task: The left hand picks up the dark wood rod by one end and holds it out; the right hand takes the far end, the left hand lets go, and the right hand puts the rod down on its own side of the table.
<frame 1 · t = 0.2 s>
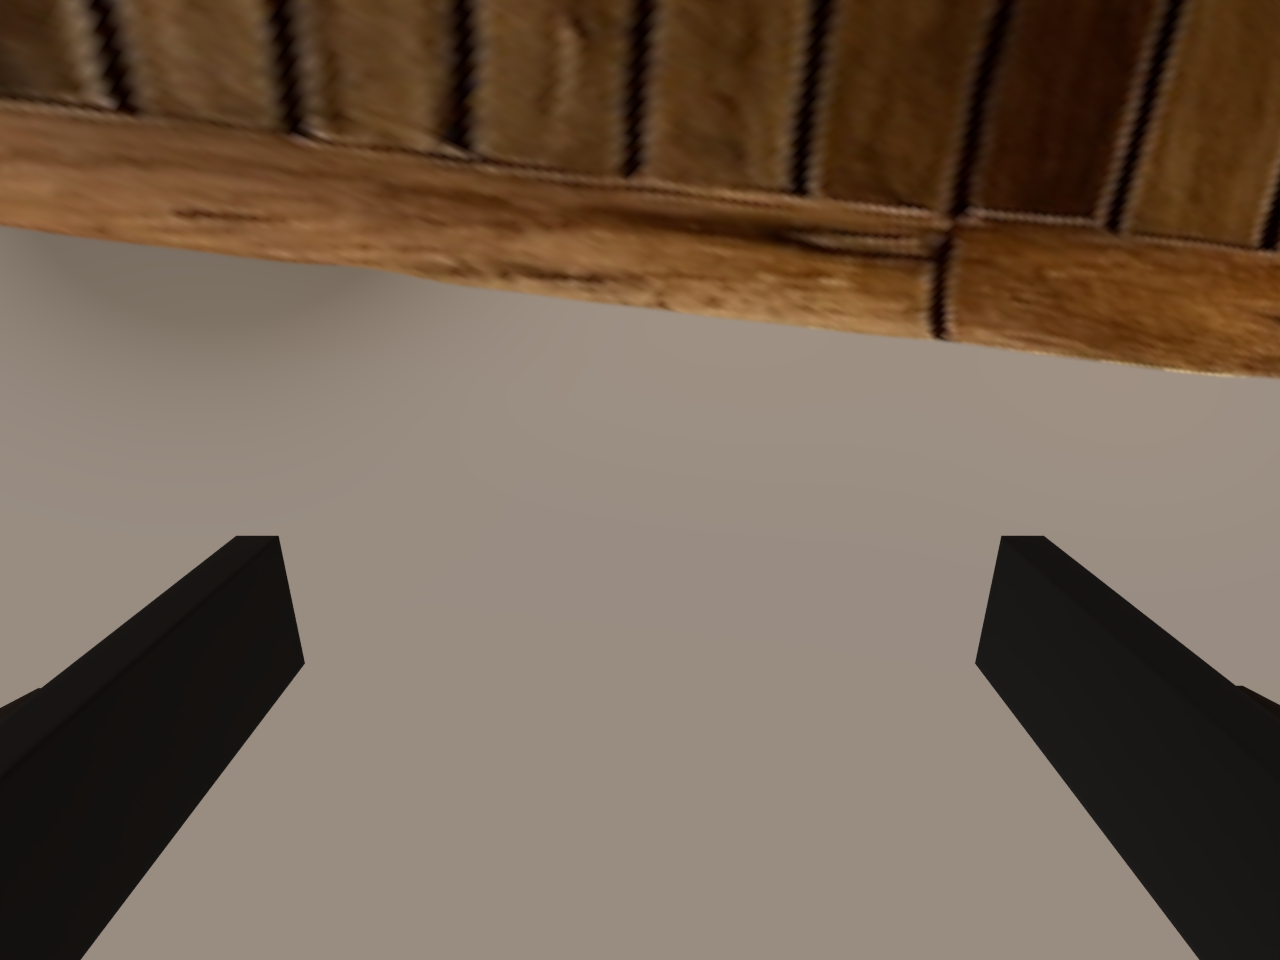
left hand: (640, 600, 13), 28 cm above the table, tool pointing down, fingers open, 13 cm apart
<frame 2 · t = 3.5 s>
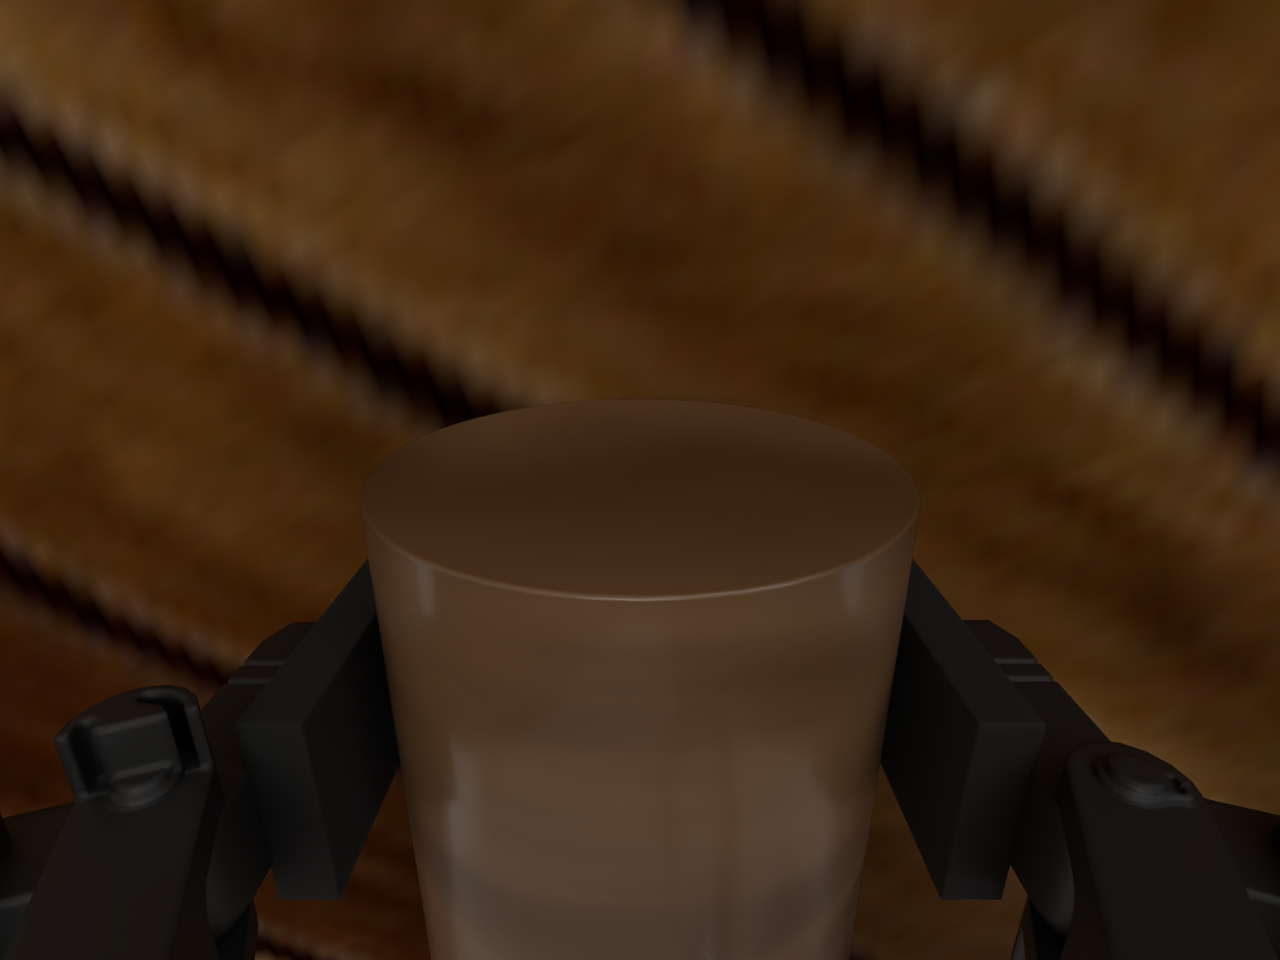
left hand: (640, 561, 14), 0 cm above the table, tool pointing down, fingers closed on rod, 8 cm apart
rod: (640, 846, 18), on the table, touching left hand
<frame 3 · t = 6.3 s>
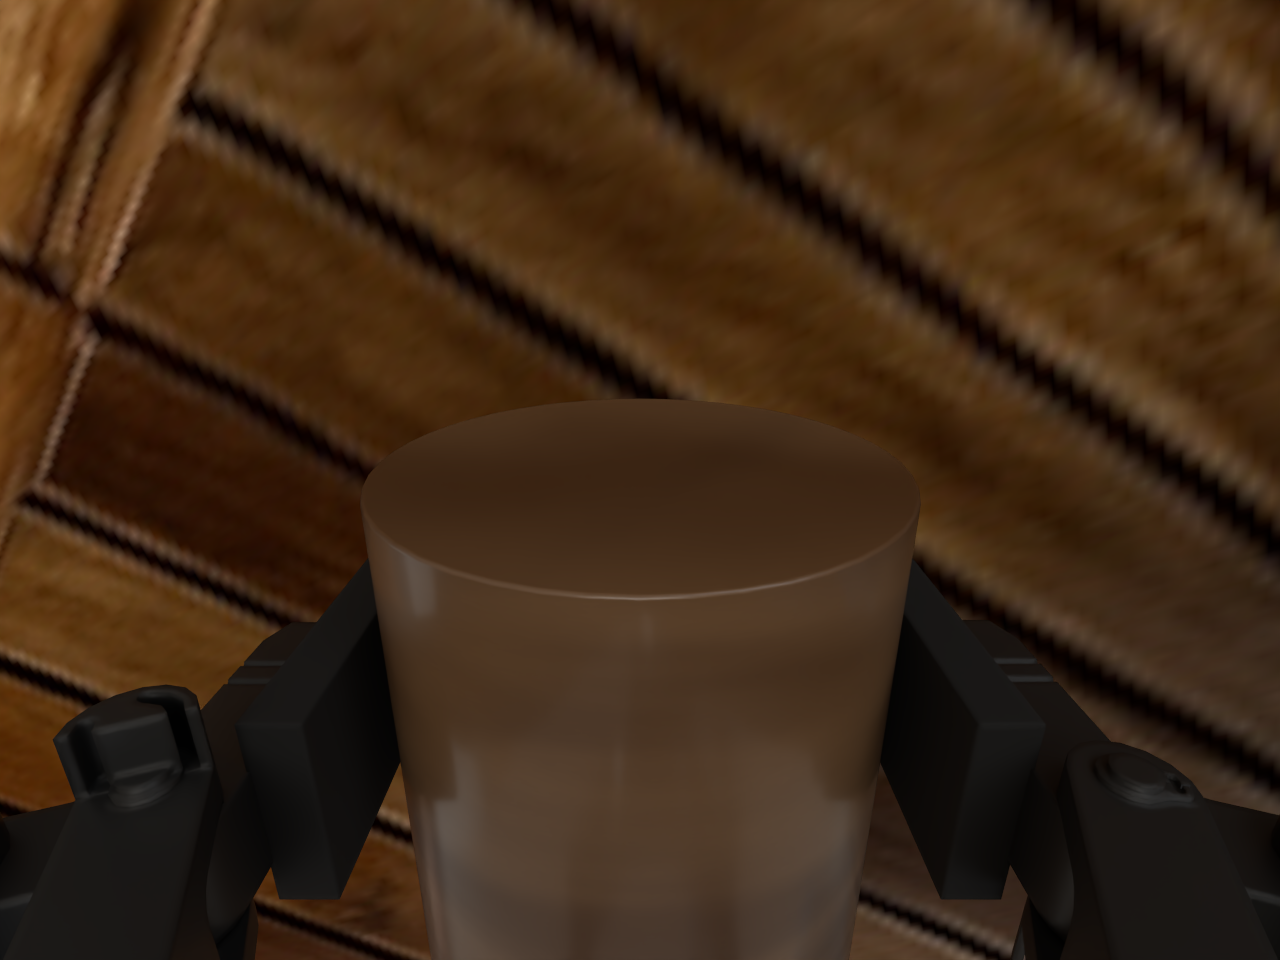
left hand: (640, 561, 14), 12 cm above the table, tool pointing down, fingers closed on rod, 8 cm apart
rod: (640, 846, 18), point 12 cm above the table, touching left hand
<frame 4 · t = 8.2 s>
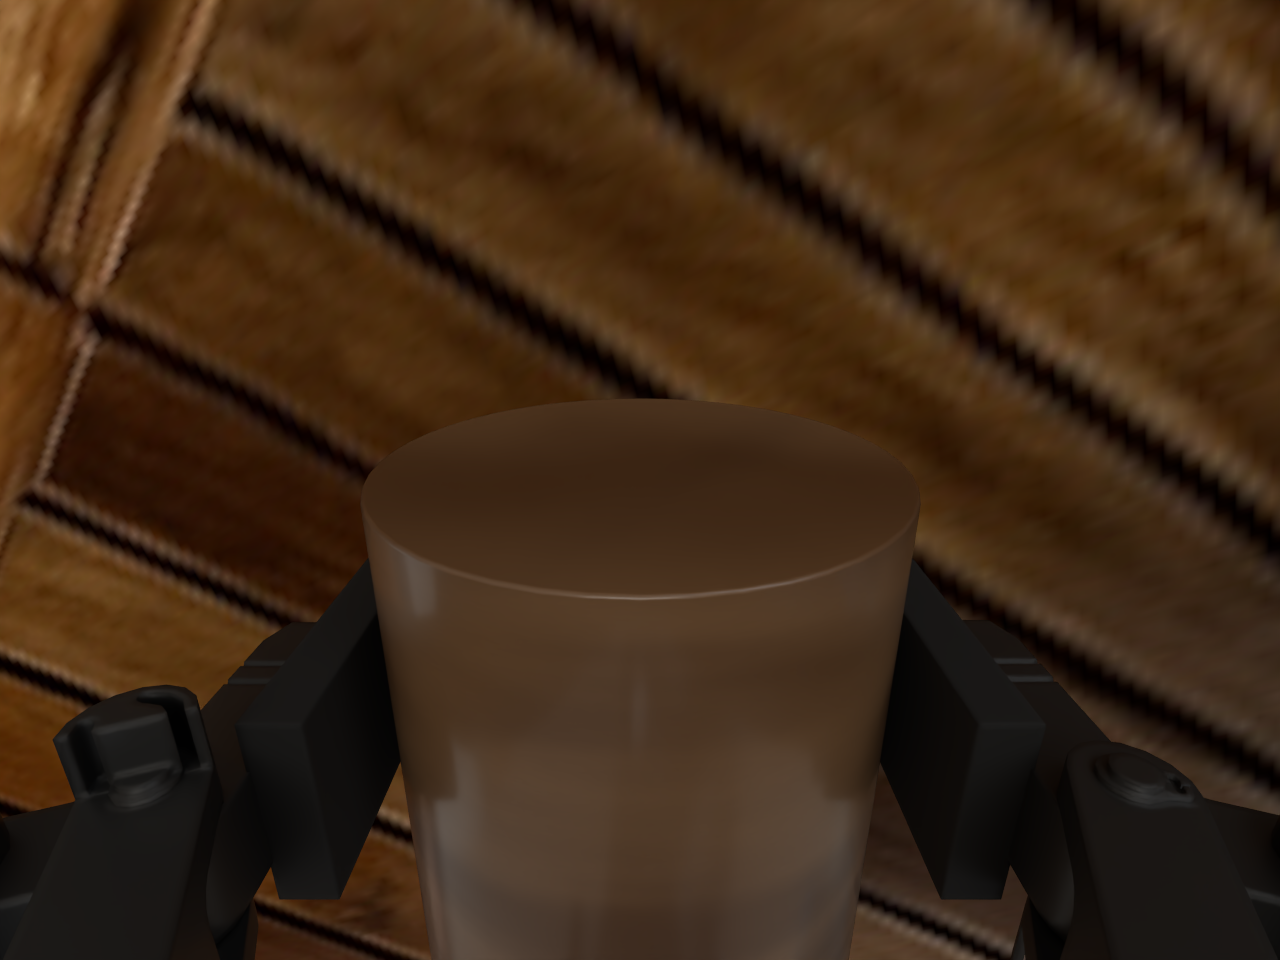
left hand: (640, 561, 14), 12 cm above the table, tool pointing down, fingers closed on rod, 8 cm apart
rod: (639, 845, 18), point 12 cm above the table, touching left hand, right hand
when the left hand's fingers open (12 cm above the table, at t = 9.1 s): rod stays where it is, held by the right hand.
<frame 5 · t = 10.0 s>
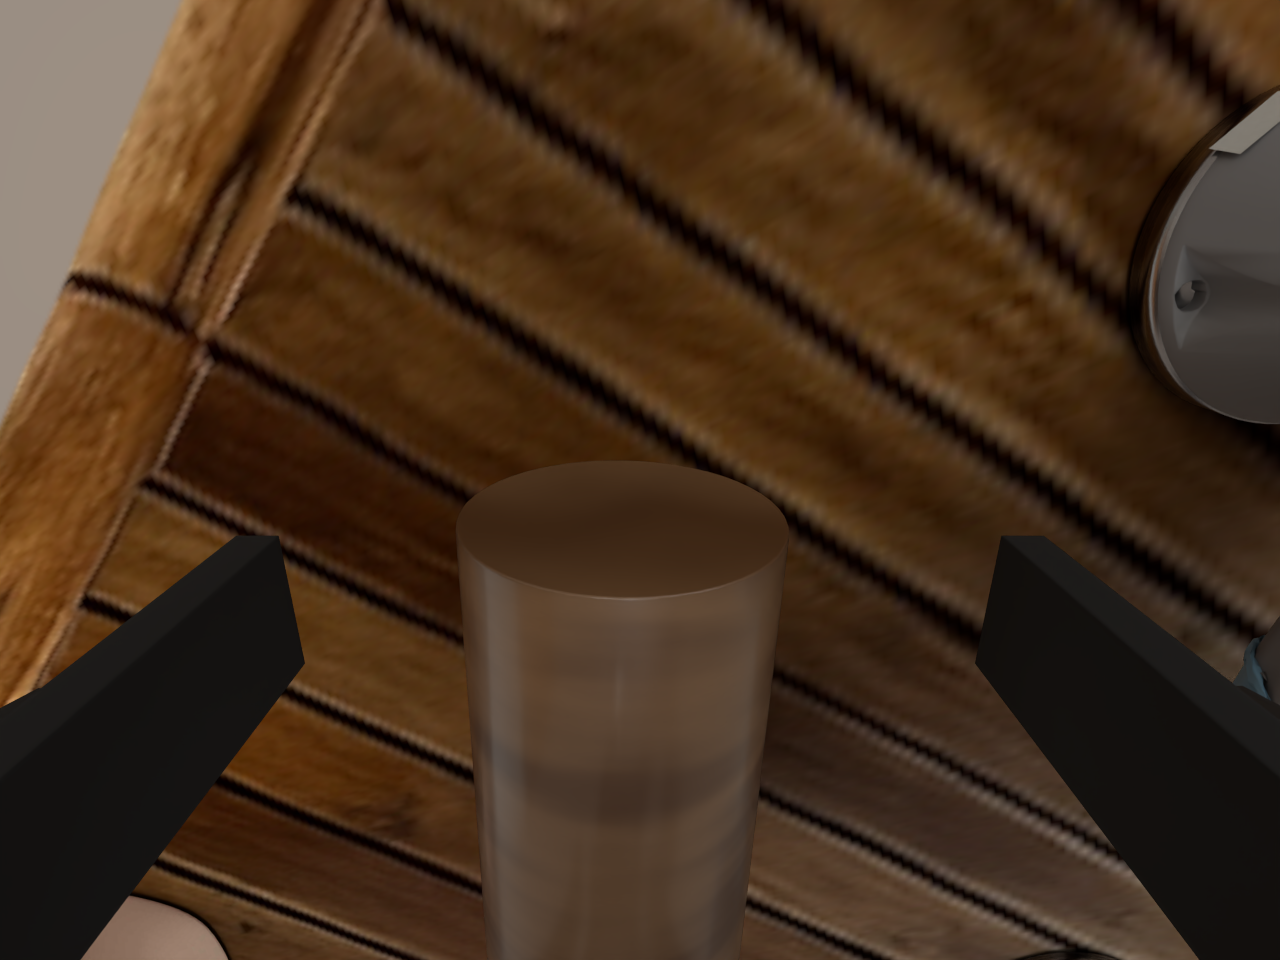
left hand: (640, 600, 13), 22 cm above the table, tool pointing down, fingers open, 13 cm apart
rod: (617, 781, 24), point 15 cm above the table, touching right hand
anatomical model: (151, 956, 48), on the table
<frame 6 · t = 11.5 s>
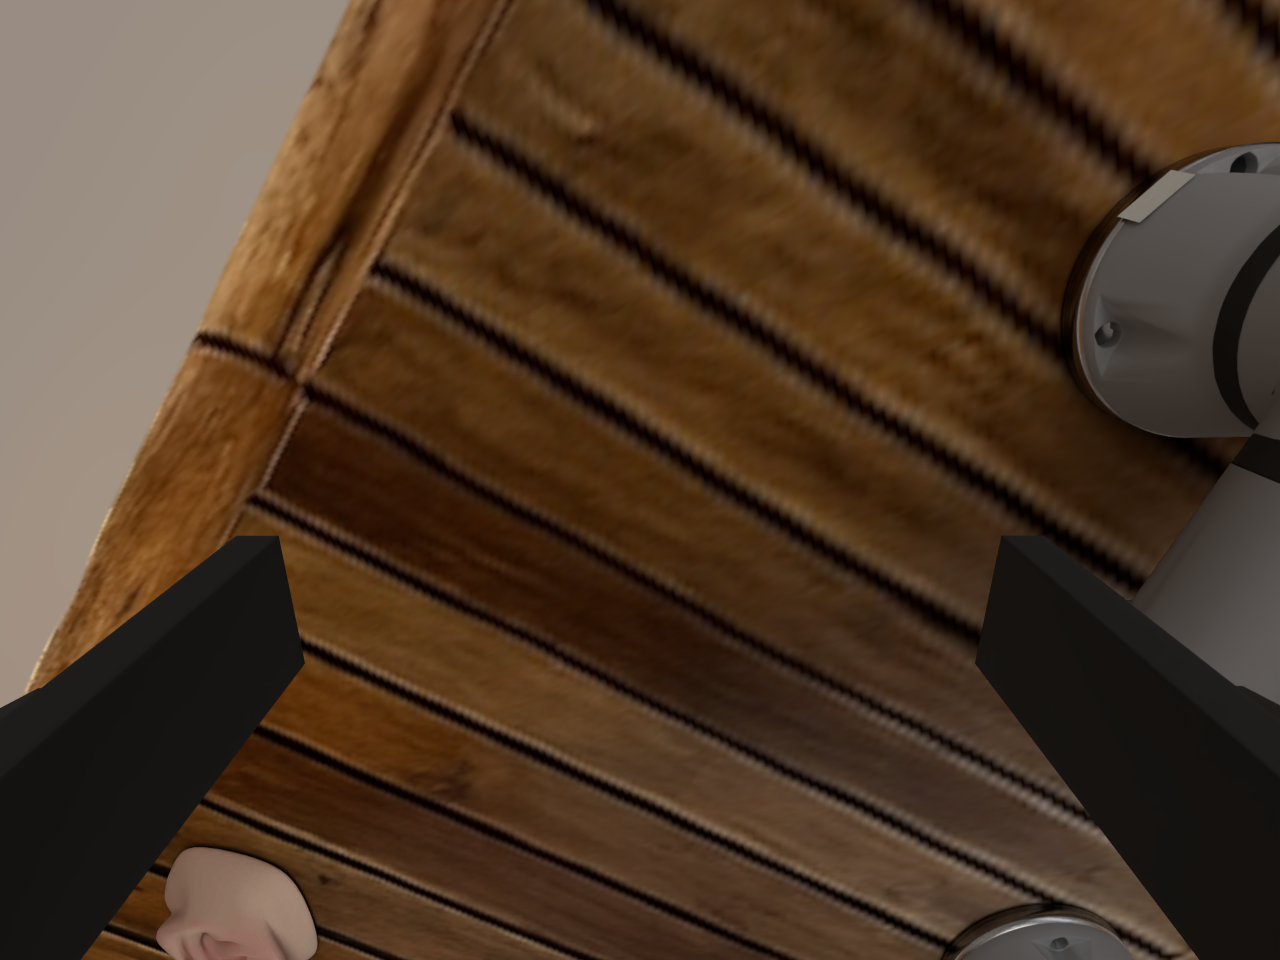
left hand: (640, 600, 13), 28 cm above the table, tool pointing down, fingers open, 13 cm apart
anatomical model: (242, 905, 55), on the table
when the right hand's fingers open (2 cm above the table, at t = 15.2 s): rod drops 1 cm, on the table.
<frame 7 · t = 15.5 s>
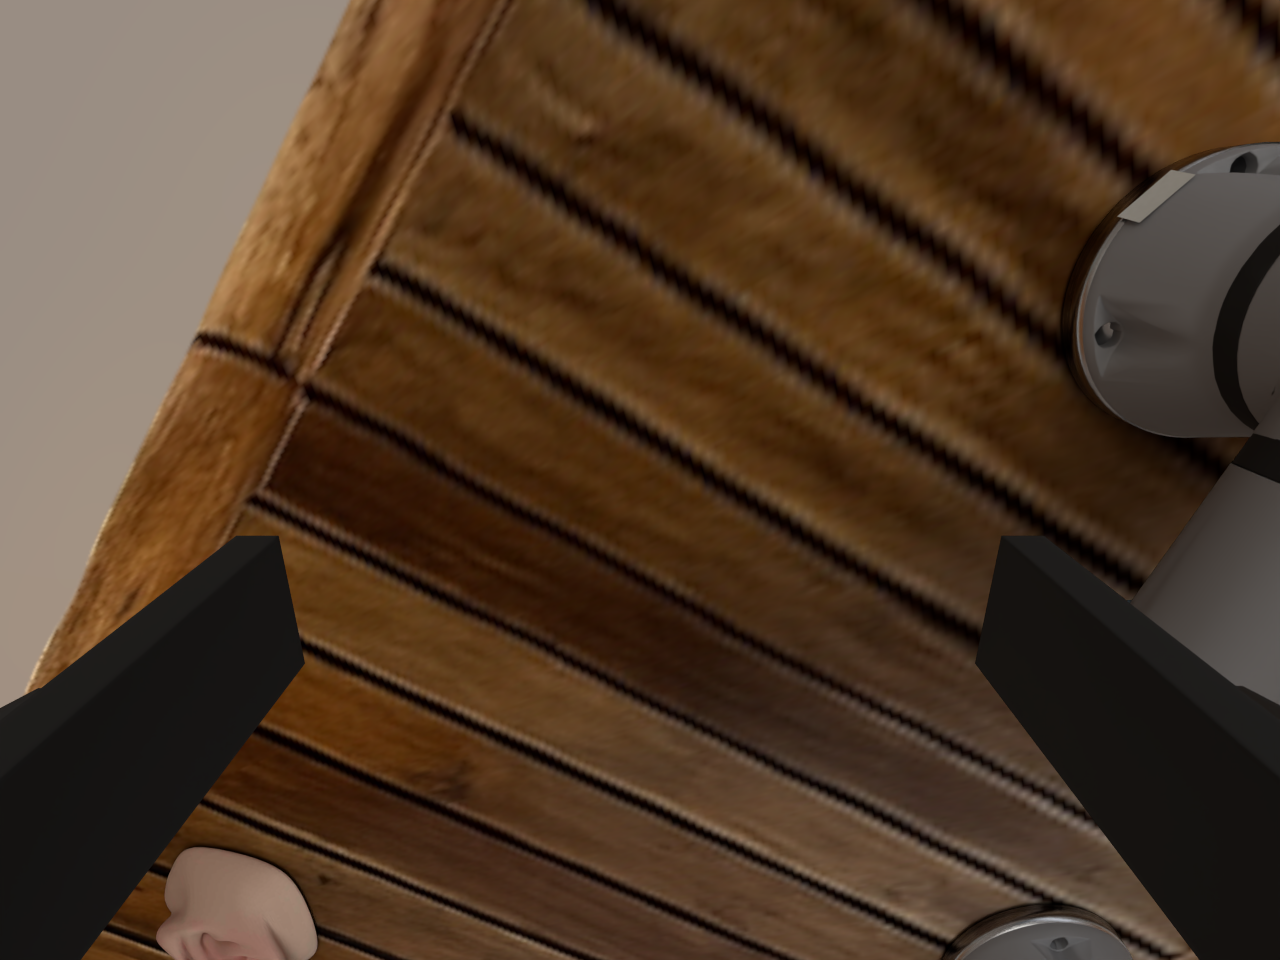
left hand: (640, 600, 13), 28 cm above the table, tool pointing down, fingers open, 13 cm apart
anatomical model: (242, 905, 55), on the table
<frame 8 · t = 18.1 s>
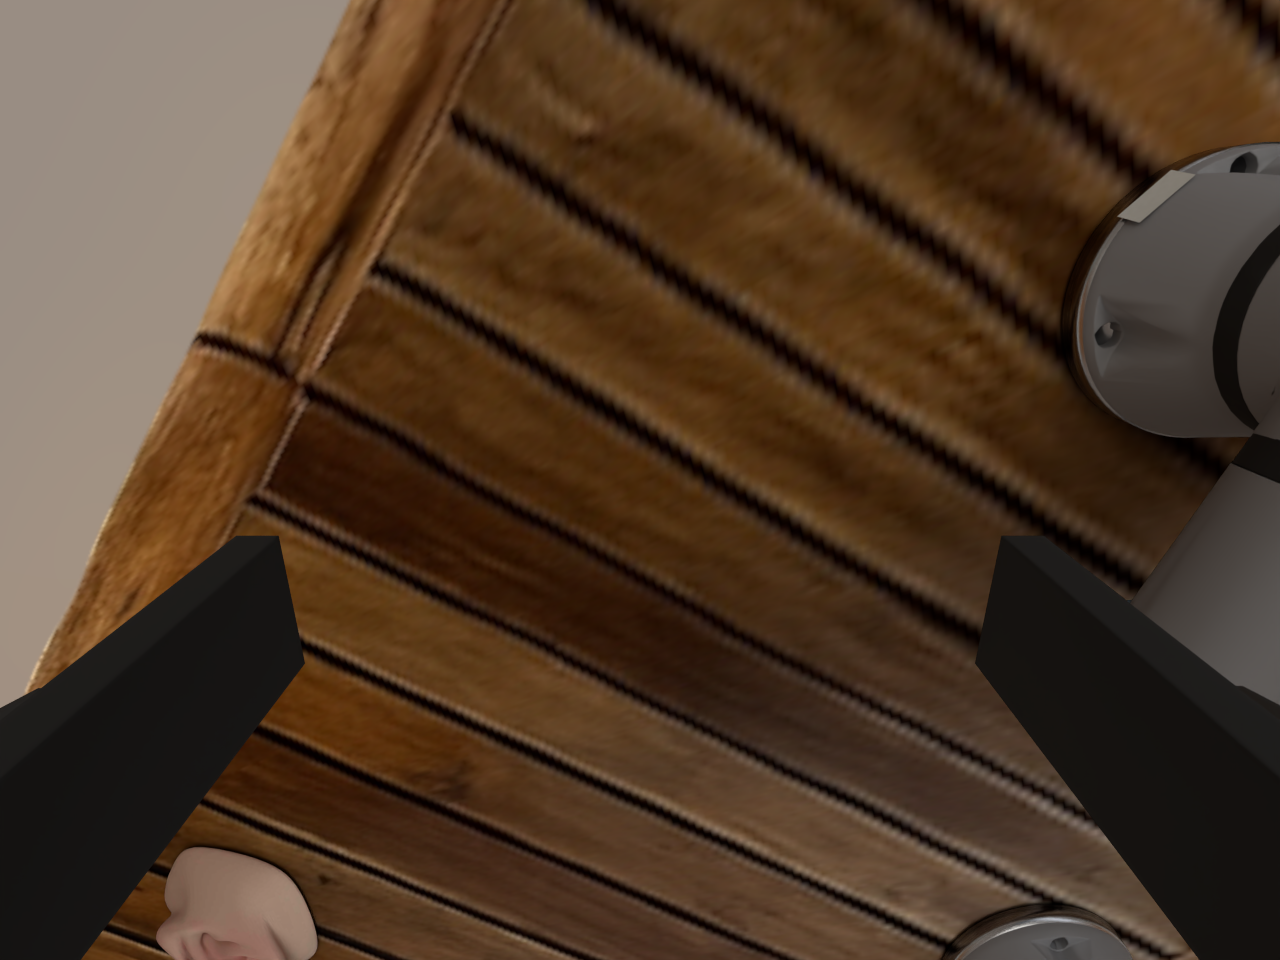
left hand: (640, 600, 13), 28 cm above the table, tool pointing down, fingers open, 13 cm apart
anatomical model: (242, 905, 55), on the table
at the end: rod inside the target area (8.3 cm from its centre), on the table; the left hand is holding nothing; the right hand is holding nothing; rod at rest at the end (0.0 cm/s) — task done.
